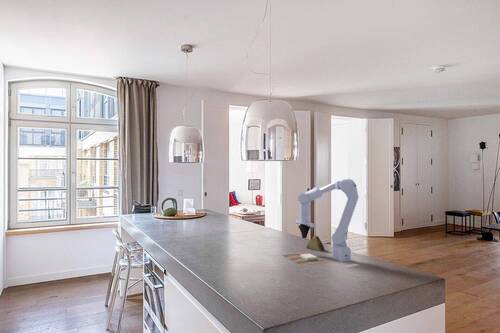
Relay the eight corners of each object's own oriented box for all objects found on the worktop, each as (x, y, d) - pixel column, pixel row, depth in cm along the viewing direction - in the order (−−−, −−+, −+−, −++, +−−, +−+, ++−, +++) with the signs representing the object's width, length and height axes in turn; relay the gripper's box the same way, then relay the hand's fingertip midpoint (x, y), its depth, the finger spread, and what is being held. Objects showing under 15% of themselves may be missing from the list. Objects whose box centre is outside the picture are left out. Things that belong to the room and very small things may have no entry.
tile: (309, 256, 181) (316, 259, 175) (300, 257, 179) (307, 260, 173) (309, 253, 181) (316, 256, 175) (300, 254, 179) (307, 257, 173)
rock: (301, 246, 201) (310, 247, 192) (307, 234, 204) (316, 234, 195) (314, 255, 204) (323, 257, 195) (320, 243, 207) (329, 245, 198)
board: (328, 264, 170) (328, 262, 170) (301, 267, 164) (301, 265, 164) (305, 254, 191) (305, 252, 191) (280, 256, 185) (280, 254, 185)
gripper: (318, 215, 184) (318, 239, 184) (302, 212, 197) (302, 235, 196) (308, 216, 180) (308, 241, 180) (292, 212, 193) (292, 236, 193)
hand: (304, 238), depth 188 cm, fingers closed
